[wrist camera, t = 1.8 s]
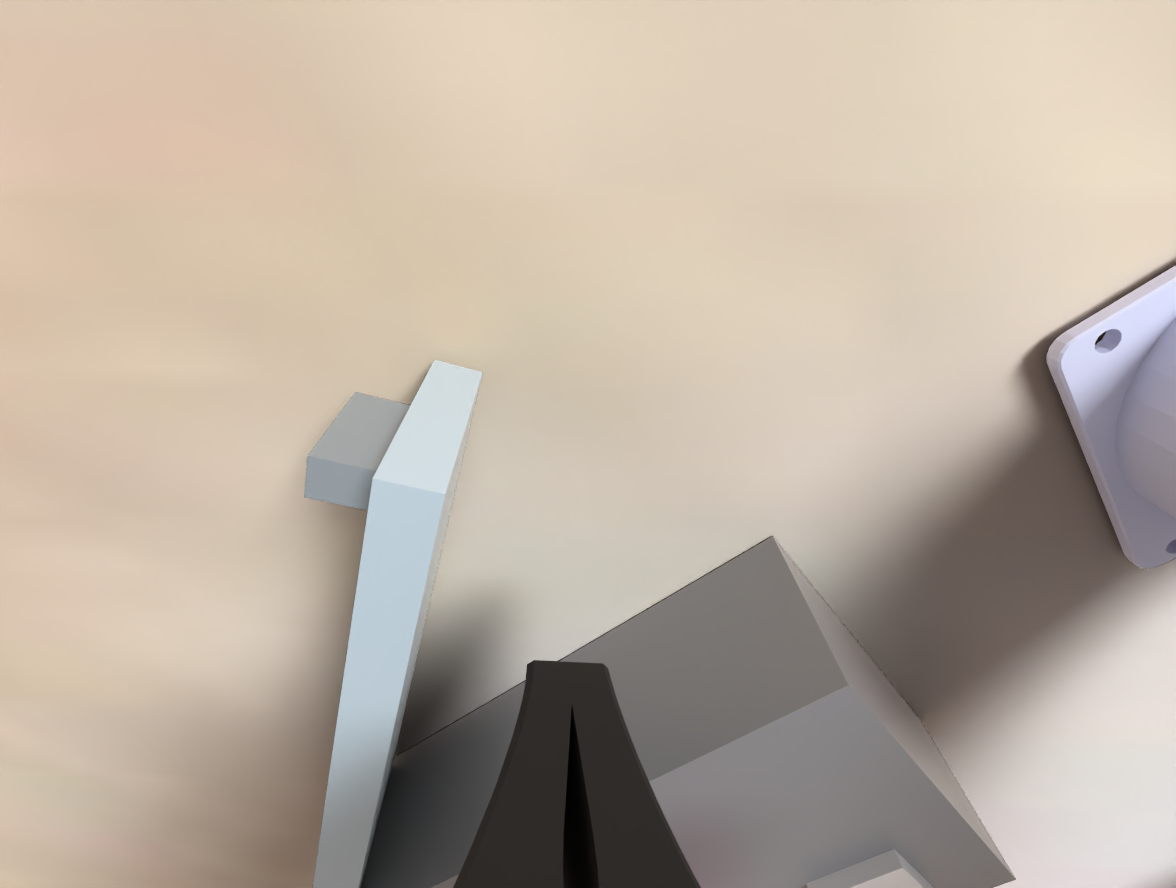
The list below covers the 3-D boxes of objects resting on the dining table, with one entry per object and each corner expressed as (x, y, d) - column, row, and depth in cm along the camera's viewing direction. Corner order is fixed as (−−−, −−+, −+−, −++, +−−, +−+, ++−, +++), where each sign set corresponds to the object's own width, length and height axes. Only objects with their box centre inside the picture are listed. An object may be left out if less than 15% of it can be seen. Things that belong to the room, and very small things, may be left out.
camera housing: (772, 535, 15) (857, 703, 11) (921, 722, 19) (1026, 897, 15) (369, 772, 19) (313, 961, 15) (562, 883, 23) (562, 1056, 19)
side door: (374, 344, 12) (280, 458, 8) (483, 372, 12) (445, 493, 8) (320, 757, 18) (253, 933, 14) (391, 766, 18) (346, 941, 15)
